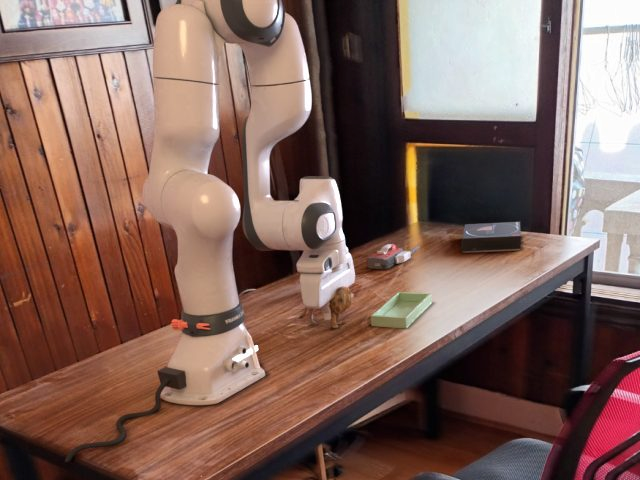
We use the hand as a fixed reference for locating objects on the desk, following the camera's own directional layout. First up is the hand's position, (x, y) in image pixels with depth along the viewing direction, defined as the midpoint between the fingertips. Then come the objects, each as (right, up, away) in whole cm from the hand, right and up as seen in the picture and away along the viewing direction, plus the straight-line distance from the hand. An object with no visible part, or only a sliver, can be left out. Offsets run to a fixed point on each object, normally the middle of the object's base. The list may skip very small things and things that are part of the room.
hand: (333, 315), depth 173 cm
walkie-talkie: (+15, +27, +43) cm, 53 cm away
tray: (+16, +1, +4) cm, 17 cm away
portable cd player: (+43, +34, +50) cm, 74 cm away
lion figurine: (-1, -1, +3) cm, 3 cm away
